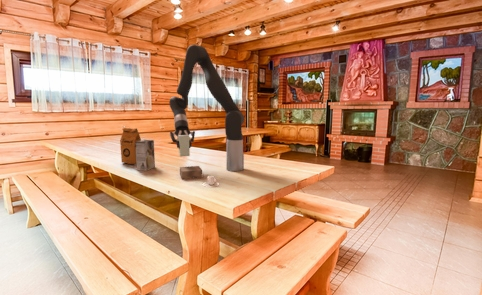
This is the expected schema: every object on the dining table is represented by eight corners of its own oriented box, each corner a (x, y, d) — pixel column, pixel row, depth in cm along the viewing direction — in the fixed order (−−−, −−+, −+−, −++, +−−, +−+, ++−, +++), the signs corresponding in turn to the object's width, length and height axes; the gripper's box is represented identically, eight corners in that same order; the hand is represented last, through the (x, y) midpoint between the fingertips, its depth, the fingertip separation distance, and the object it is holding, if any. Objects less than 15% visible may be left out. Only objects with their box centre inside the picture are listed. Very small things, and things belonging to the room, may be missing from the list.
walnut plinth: (198, 173, 143) (198, 165, 142) (202, 177, 133) (202, 170, 133) (179, 174, 139) (179, 167, 139) (182, 179, 130) (181, 171, 129)
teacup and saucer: (211, 181, 129) (211, 173, 128) (223, 184, 124) (223, 175, 124) (198, 185, 122) (198, 177, 121) (211, 188, 117) (211, 179, 117)
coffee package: (133, 165, 158) (131, 129, 155) (119, 163, 163) (116, 128, 160) (146, 162, 167) (144, 127, 163) (132, 160, 172) (130, 127, 169)
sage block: (188, 154, 148) (187, 134, 146) (189, 155, 143) (188, 135, 141) (179, 155, 146) (178, 135, 144) (180, 156, 141) (179, 136, 140)
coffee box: (145, 166, 157) (144, 139, 154) (155, 167, 156) (154, 140, 153) (136, 170, 148) (134, 141, 145) (146, 170, 147) (145, 142, 144)
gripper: (168, 119, 146) (170, 143, 137) (194, 119, 151) (198, 142, 141) (168, 128, 152) (170, 152, 143) (193, 127, 157) (197, 150, 147)
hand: (184, 147), depth 142 cm, fingers closed on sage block, 5 cm apart
